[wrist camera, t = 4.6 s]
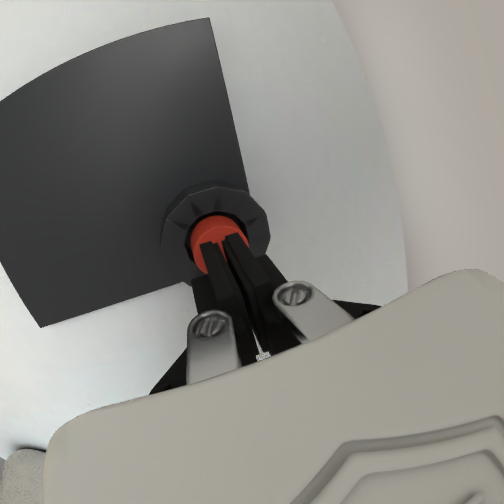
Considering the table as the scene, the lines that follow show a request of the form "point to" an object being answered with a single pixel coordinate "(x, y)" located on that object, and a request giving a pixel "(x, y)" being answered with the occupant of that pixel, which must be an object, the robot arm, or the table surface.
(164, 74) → the scale
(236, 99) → the table surface
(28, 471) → the planter
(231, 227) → the button
